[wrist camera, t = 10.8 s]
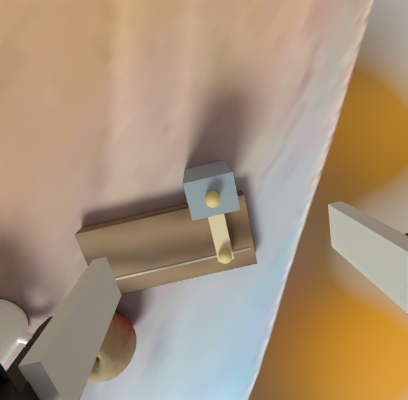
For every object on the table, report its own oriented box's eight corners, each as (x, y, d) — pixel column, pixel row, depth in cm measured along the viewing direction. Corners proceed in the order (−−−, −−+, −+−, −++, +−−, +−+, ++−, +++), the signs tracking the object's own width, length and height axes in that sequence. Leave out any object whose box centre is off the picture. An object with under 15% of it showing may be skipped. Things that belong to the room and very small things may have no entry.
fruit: (120, 292, 37) (101, 336, 29) (149, 329, 39) (139, 379, 31) (76, 315, 38) (46, 364, 30) (107, 350, 40) (88, 404, 32)
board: (81, 228, 34) (74, 234, 32) (241, 190, 33) (244, 195, 31) (106, 289, 36) (101, 298, 34) (253, 255, 36) (257, 263, 34)
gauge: (184, 169, 32) (182, 186, 23) (223, 160, 32) (234, 174, 23) (205, 250, 35) (210, 292, 27) (240, 242, 35) (255, 282, 27)
